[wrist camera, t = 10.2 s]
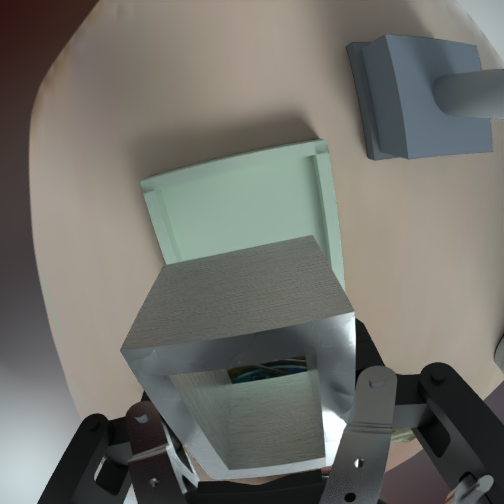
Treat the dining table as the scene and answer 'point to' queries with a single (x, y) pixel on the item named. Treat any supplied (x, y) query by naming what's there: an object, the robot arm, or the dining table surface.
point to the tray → (247, 203)
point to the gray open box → (249, 357)
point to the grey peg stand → (424, 97)
